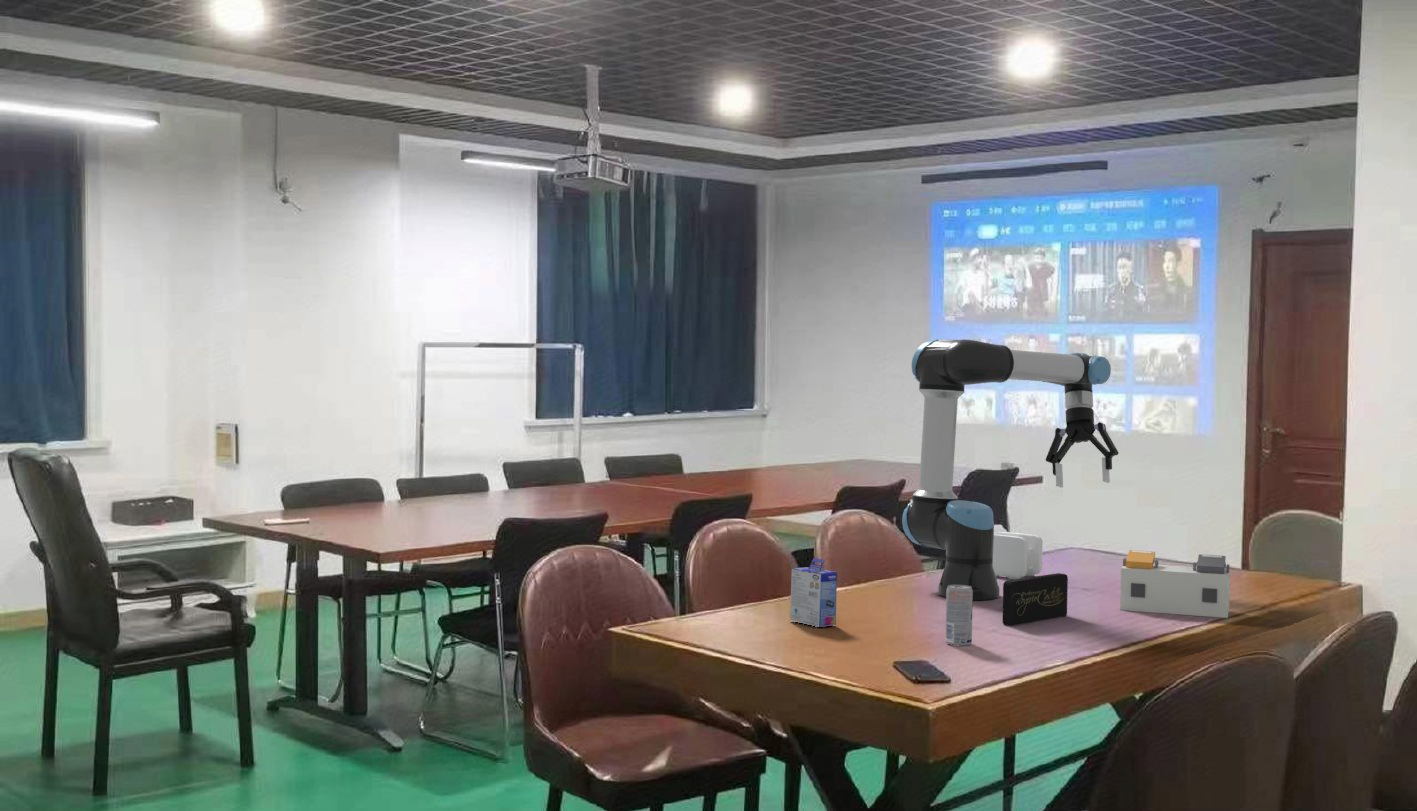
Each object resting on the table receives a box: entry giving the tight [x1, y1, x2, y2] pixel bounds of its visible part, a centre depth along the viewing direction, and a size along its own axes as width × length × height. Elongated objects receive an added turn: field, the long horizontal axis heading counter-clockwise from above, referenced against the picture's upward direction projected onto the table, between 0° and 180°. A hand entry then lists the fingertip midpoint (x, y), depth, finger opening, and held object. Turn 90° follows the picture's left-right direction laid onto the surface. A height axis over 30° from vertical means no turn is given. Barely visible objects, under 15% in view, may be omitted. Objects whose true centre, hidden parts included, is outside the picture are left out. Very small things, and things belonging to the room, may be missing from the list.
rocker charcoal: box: [1196, 553, 1227, 574], centre depth 321 cm, size 8×6×2 cm
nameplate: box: [1002, 572, 1069, 627], centre depth 310 cm, size 21×2×10 cm, turn 129°
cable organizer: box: [993, 531, 1044, 580], centre depth 376 cm, size 15×11×12 cm
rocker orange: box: [1126, 549, 1156, 569], centre depth 327 cm, size 8×6×2 cm
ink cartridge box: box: [789, 557, 838, 628], centre depth 302 cm, size 10×6×14 cm, turn 40°
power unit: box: [1119, 557, 1231, 619], centre depth 324 cm, size 10×24×12 cm, turn 67°
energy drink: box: [945, 585, 973, 647], centre depth 282 cm, size 5×5×12 cm
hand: (1082, 484), depth 371 cm, fingers open, 13 cm apart
